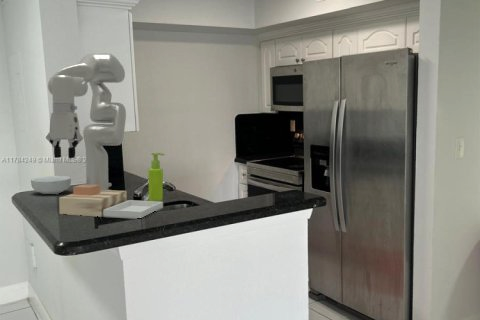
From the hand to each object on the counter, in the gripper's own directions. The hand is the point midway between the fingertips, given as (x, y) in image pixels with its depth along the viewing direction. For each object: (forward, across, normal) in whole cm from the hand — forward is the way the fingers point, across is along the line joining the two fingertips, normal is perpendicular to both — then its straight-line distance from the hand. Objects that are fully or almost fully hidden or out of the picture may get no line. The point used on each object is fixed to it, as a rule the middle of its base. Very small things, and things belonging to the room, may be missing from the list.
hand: (64, 157), depth 168 cm
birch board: (+19, -12, 0) cm, 23 cm away
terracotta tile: (+13, -9, 0) cm, 16 cm away
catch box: (+19, -28, 0) cm, 34 cm away
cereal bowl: (+20, +26, -29) cm, 44 cm away
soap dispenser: (+20, -26, -26) cm, 42 cm away
